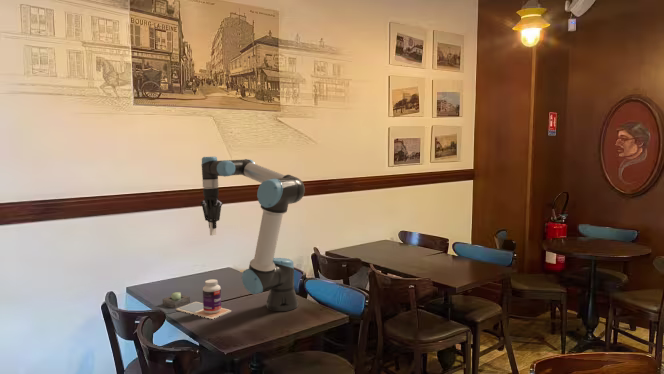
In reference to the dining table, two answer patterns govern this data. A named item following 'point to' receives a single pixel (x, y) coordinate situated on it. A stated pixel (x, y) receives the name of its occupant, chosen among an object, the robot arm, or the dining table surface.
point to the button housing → (176, 301)
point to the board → (201, 310)
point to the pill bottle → (211, 297)
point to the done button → (176, 295)
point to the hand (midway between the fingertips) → (213, 234)
